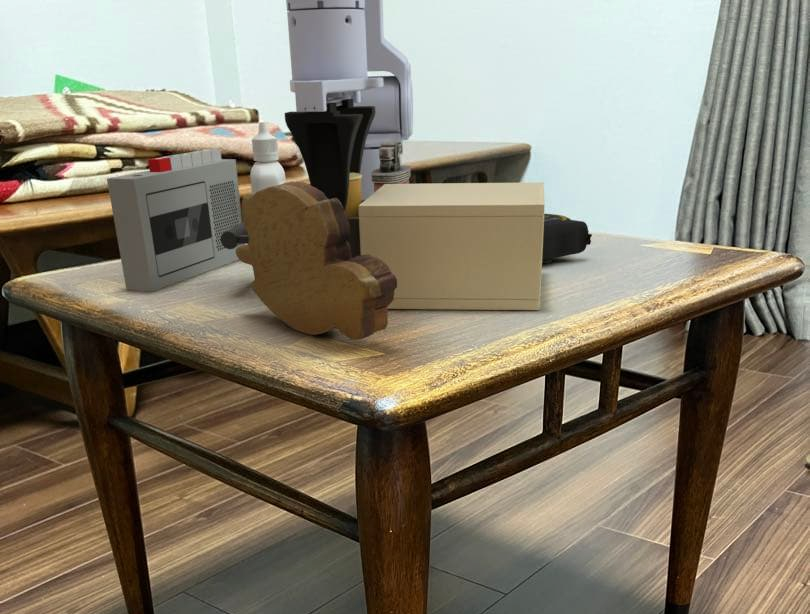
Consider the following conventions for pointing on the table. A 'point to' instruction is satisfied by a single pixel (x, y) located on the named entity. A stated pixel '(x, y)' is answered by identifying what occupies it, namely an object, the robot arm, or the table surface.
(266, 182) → the eye dropper bottle
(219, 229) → the cassette player
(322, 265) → the wooden carving
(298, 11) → the robot arm
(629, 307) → the table surface
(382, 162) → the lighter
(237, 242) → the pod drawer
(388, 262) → the lidded cardboard box
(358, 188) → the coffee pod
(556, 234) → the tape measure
